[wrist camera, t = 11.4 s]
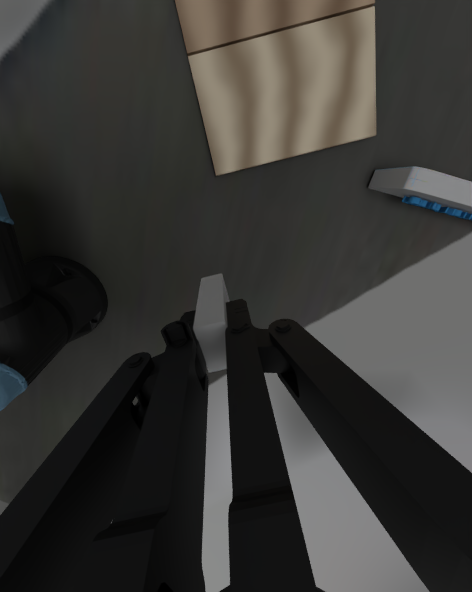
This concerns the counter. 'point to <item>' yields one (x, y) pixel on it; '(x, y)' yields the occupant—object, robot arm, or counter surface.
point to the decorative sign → (426, 189)
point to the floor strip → (251, 18)
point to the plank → (288, 91)
